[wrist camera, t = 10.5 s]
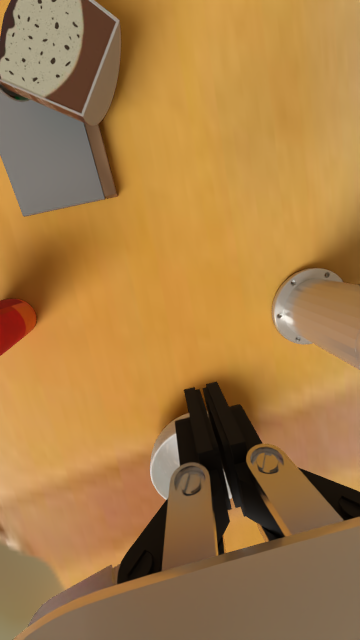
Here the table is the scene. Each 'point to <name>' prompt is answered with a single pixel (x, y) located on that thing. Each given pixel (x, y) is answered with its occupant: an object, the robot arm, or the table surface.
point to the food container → (61, 56)
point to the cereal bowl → (167, 459)
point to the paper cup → (15, 322)
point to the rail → (101, 160)
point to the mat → (46, 157)
